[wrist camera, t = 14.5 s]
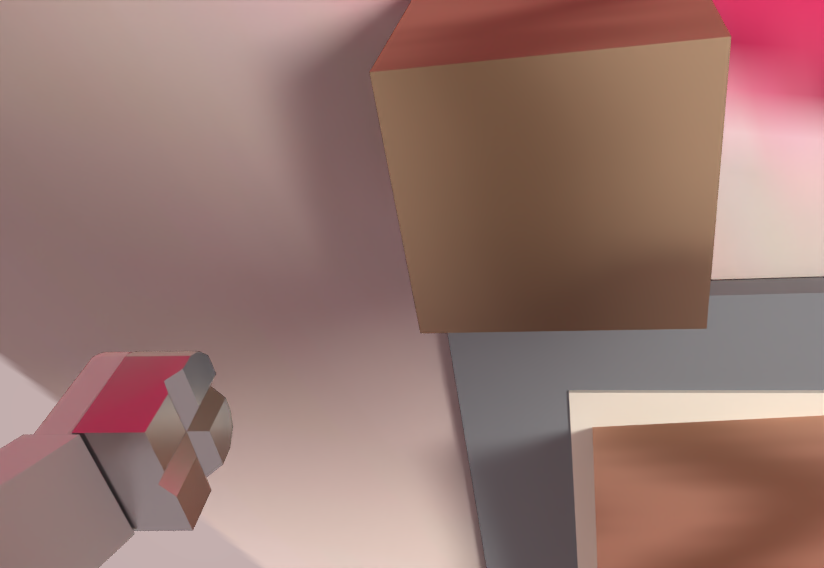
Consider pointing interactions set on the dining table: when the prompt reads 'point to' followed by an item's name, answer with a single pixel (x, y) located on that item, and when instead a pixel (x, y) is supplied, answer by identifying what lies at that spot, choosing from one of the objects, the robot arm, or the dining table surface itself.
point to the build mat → (619, 404)
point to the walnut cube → (555, 160)
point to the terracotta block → (710, 494)
